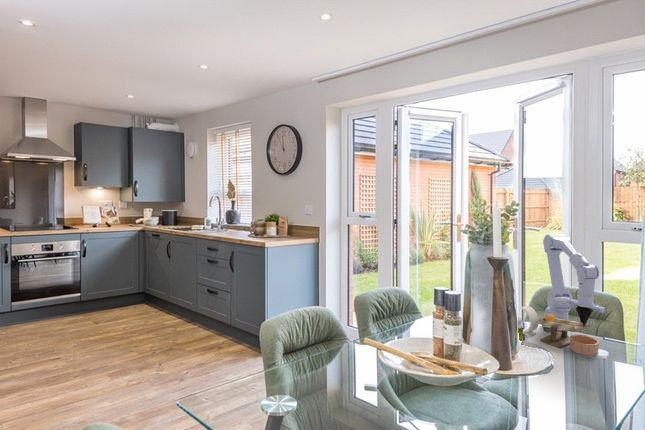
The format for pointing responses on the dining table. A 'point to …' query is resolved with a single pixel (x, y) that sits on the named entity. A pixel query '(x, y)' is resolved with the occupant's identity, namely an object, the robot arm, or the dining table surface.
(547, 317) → the ball
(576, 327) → the beige curved piece
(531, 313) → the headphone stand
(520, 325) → the pill bottle
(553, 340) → the lever stand
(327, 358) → the dining table surface
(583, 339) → the cup
